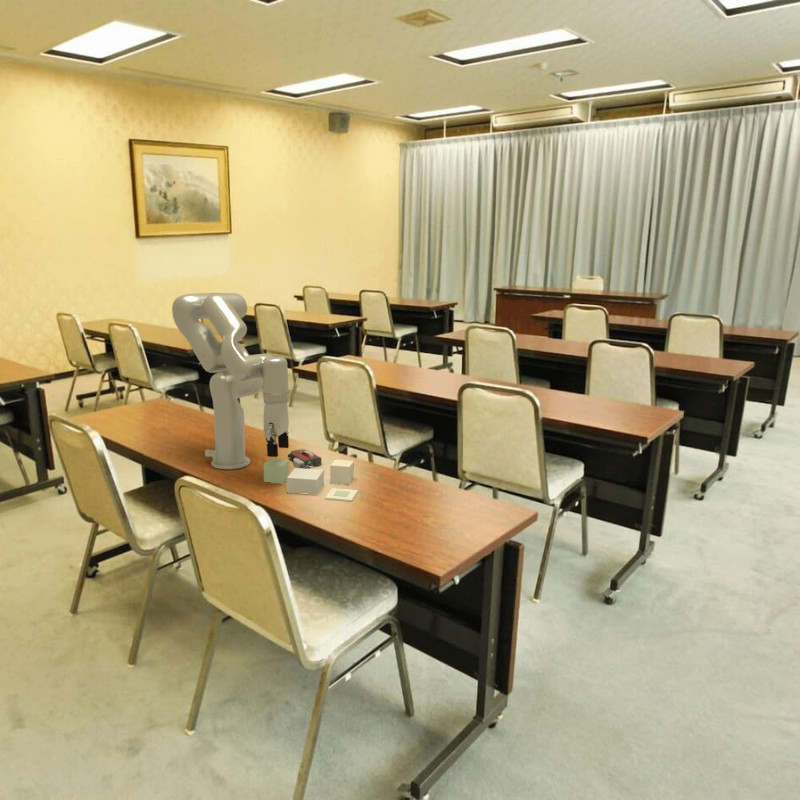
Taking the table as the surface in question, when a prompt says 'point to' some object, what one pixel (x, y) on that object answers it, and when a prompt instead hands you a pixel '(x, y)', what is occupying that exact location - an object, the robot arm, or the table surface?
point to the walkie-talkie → (304, 458)
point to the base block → (305, 481)
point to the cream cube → (342, 471)
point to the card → (341, 494)
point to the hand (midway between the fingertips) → (278, 451)
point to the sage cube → (276, 470)
